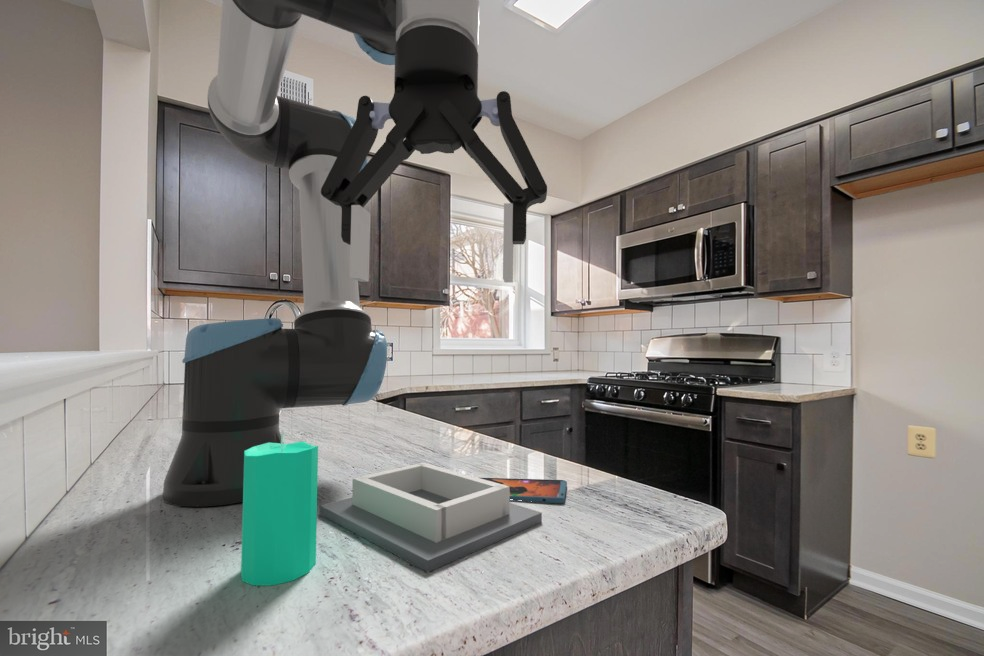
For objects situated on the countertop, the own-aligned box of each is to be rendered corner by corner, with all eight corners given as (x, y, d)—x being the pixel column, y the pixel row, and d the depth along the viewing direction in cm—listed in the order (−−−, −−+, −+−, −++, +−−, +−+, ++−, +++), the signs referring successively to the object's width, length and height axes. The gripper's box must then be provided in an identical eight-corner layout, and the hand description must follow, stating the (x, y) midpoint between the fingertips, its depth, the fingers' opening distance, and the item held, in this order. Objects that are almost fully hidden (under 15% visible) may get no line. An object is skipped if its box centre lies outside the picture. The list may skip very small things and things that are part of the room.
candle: (312, 580, 38) (315, 434, 38) (231, 590, 36) (236, 438, 37) (318, 549, 44) (320, 423, 44) (248, 557, 42) (252, 426, 42)
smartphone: (464, 476, 68) (566, 479, 64) (464, 486, 67) (567, 489, 64) (447, 491, 60) (563, 495, 56) (448, 502, 59) (564, 507, 56)
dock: (320, 514, 53) (320, 479, 53) (428, 484, 64) (429, 456, 65) (427, 572, 39) (428, 524, 39) (541, 521, 51) (541, 485, 51)
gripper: (284, 26, 39) (277, 273, 38) (579, 12, 37) (576, 274, 36) (324, 77, 46) (319, 284, 46) (572, 67, 44) (569, 285, 44)
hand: (432, 280), depth 41 cm, fingers open, 13 cm apart
